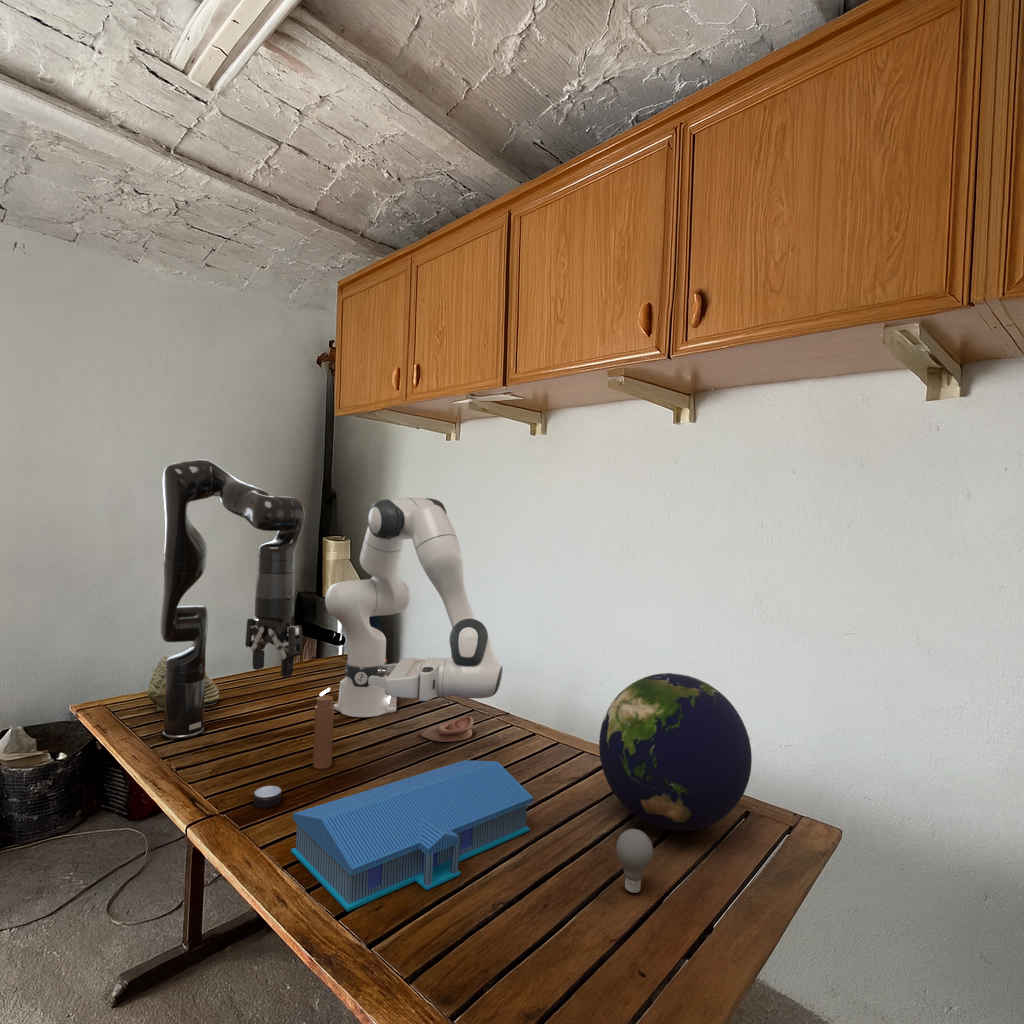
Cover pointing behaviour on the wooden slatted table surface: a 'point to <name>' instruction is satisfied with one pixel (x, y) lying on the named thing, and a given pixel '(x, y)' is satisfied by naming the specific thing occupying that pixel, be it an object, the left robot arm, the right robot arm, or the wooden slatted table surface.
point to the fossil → (158, 687)
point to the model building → (409, 830)
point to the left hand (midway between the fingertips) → (272, 672)
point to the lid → (267, 796)
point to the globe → (675, 752)
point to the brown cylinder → (323, 732)
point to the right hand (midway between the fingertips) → (373, 674)
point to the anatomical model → (450, 730)
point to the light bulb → (634, 857)
